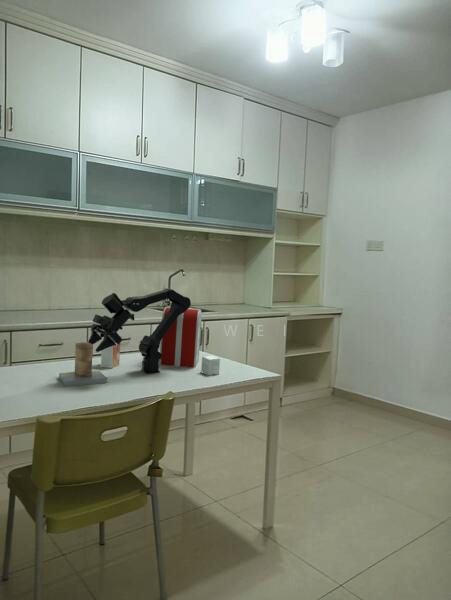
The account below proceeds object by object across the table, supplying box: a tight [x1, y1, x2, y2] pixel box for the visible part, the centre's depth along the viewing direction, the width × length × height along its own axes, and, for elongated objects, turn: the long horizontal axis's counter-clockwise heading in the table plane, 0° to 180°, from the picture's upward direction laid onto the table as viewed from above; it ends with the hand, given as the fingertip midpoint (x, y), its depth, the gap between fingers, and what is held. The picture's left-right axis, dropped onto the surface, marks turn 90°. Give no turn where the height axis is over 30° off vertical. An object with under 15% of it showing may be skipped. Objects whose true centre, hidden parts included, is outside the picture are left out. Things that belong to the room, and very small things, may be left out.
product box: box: [200, 355, 221, 376], centre depth 208 cm, size 6×6×7 cm
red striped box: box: [159, 306, 203, 369], centre depth 223 cm, size 16×18×27 cm
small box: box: [100, 343, 121, 369], centre depth 208 cm, size 8×6×10 cm
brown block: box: [73, 341, 94, 378], centre depth 183 cm, size 5×5×13 cm
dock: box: [58, 369, 108, 387], centre depth 184 cm, size 16×12×2 cm
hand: (91, 349), depth 185 cm, fingers open, 9 cm apart
